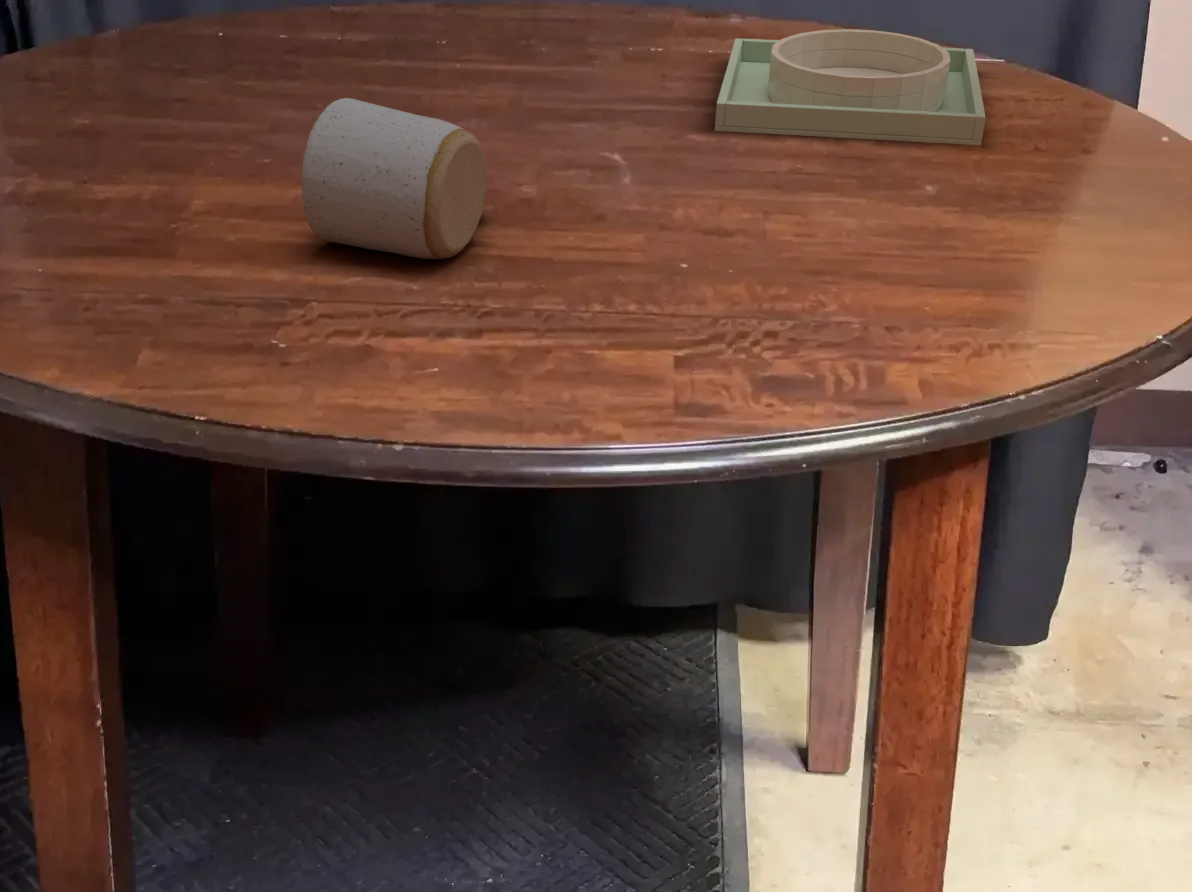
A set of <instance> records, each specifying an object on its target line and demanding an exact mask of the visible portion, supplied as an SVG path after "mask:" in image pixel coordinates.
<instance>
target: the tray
mask: <svg viewBox="0 0 1192 892" xmlns="http://www.w3.org/2000/svg"><path fill="white" fill-rule="evenodd" d="M779 40H780V39H763V38H762V39H759V38H737V37H735V39H734V42H733V45H732V47H731V48H732V49H731V52H730V55H729V59H728V64H727V66H726V70H725V73H724V76H723V80H722V83H721V86H720V90H719V94H718V97H717V100H716V105H715V106H716V107H715V119H714V125H715V126H714V131H715V132H729V133H730V132H733V133H751V134H770V135H787V136H805V137H806V136H808V137H820V138H821V137H824V138H841V139H859V140H860V139H861V140H879V141H895V142H914V143H915V142H916V143H931V144H933V143H934V144H948V145H949V144H950V145H951V144H952V145H968V146H981V145H982V140H983V135H984V131H985V130H984V129H985V123H986V118H987V117H986V111H985V107H984V100H983V96H982V95H983V94H982V89H981V85H980V79H979V74H978V73H979V72H978V69H977V62H976V56H975V51H974V49H973V48H962V47H961V48H957V47H943V48H944V49H945V50H946V51H947V52H949V55H950V67H949V73H948V79H947V86H946V92H945V97H944V99H943V104H942V106H941V108H940V109H939V110H937V111H936V112H930V111H911V110H891V109H872V108H853V107H833V106H814V105H795V104H775V103H773V102H772V101H771V100H770V98H769V96H768V82H769V71H770V59H771V51H772V46H773V44H775V43H776V42H778V41H779Z"/></svg>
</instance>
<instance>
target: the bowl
mask: <svg viewBox="0 0 1192 892" xmlns="http://www.w3.org/2000/svg"><path fill="white" fill-rule="evenodd" d="M778 40H779V41H778V42H776V43H775V44H773V46H772V51H771V59H770V71H769V82H768V96H769V98H770V100H771V101H772V102H773V103H775V104H795V105H814V106H833V107H853V108H872V109H891V110H911V111H930V112H936V111H937V110H939V109H940V108H941V106H942V104H943V99H944V97H945V92H946V86H947V79H948V73H949V67H950V55H949V52H947V51H946V50H945V49H944V48H945V47H943V46H941V45H939V44H937V43H934V42H932V41H930V40H926V39H923V38H922V37H921V38H920V37H917V36H912V35H908V34H903V33H898V32H891V31H890V32H889V31H882V30H872V29H853V28H852V29H851V28H849V29H848V28H845V29H842V28H841V29H823V30H814V31H813V30H812V31H807V32H800V33H796V34H792V35H789V36H786V37H783V38H781V39H778Z"/></svg>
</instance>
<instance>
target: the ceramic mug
mask: <svg viewBox="0 0 1192 892" xmlns="http://www.w3.org/2000/svg"><path fill="white" fill-rule="evenodd" d="M302 159H303V160H302V170H301V171H302V172H301V197H302V204H303V209H304V214H305V218H306V220H307V223H308V225H309V227H310V229H311V230H312V232H314V234H315V235H316V236H317V237H318V238H319V239H321V240H323V241H325V242H329V243H333V244H340V245H345V246H350V247H355V248H356V247H357V248H361V249H365V250H372V251H377V252H384V253H389V254H396V255H401V256H405V257H410V258H415V259H416V258H417V259H422V260H446V259H450V258H452V257H454V256H456V255H457V254H459V253H460V252H461V251H462V250H463V249H464V248H465V247H466V246H468V244H469V243H470V241H471V239H472V238H473V237H474V235H475V232H476V231H477V228H478V225H479V224H480V220H481V218H482V214H483V210H484V205H485V199H486V193H487V185H488V184H487V183H488V182H487V181H488V180H487V179H488V178H487V177H488V173H487V172H488V171H487V162H486V157H485V154H484V151H483V149H482V147H481V144H480V142H479V140H478V139H477V138H476V136H475V135H474V134H473V133H472V132H470V131H469V130H467V129H465V128H462V127H461V126H458V125H456V124H454V123H452V122H449V121H446V120H442V119H439V118H433V117H429V116H425V115H420V114H415V113H411V112H408V111H407V112H406V111H402V110H400V109H395V108H391V107H387V106H382V105H379V104H375V103H370V102H367V101H364V100H359V99H356V98H350V97H344V98H339V99H336V100H334V101H332V102H331V103H330V104H329V105H327V106H325V108H324V109H323V111H322V112H321V114H320V115H319V116H318V117H317V119H316V121H314V124H313V126H312V128H311V131H310V133H309V136H308V140H307V143H306V145H305V150H304V153H303V158H302Z"/></svg>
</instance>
